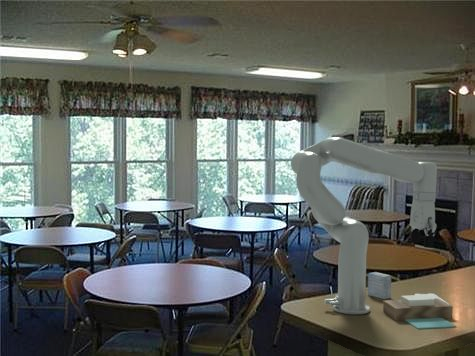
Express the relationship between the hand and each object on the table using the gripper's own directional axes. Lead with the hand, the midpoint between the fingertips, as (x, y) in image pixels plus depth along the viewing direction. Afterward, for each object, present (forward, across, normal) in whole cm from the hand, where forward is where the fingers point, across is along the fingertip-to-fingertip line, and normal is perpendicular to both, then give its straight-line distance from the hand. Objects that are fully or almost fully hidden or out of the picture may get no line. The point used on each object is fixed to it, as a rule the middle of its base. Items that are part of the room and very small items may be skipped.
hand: (421, 245), depth 201 cm
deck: (+22, +9, -5) cm, 25 cm away
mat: (+22, +19, -6) cm, 30 cm away
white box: (+18, +9, -5) cm, 21 cm away
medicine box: (+23, -16, -8) cm, 29 cm away
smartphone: (+23, -6, +8) cm, 25 cm away
